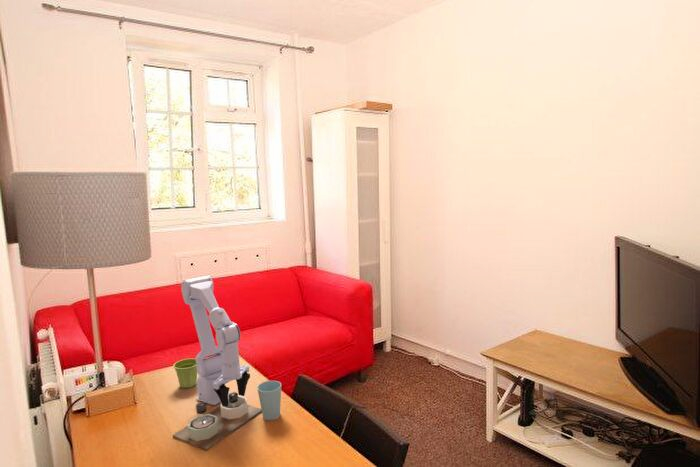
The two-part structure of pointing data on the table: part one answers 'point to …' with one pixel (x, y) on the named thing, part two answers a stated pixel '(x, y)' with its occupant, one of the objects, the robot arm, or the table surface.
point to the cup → (270, 399)
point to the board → (219, 428)
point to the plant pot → (186, 372)
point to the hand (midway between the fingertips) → (233, 400)
